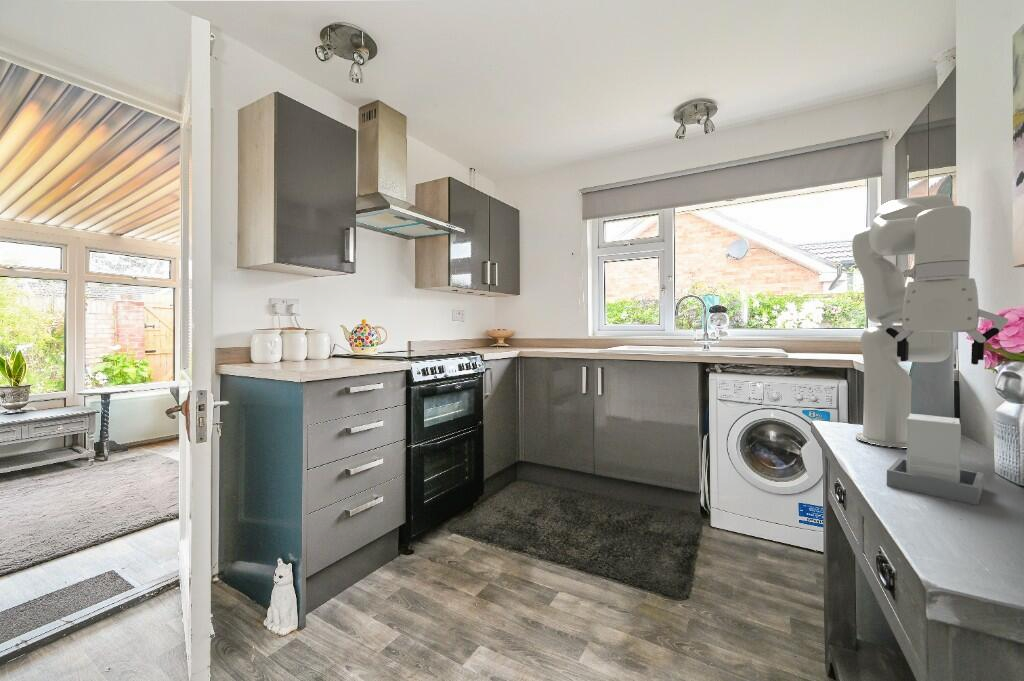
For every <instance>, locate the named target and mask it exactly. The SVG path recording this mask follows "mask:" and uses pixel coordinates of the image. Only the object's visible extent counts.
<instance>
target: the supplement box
mask: <svg viewBox="0 0 1024 681" xmlns="http://www.w3.org/2000/svg"><path fill="white" fill-rule="evenodd" d="M906 420H907V449H906V460H907V473H910V474H915V475H920V476H925V477H930V478H935V479H940V480H945V481H950V482H956V483H960V469H961V453H962V452H961V448H962V447H961V443H962V424H961V421H960V417H959V418H958V417H949V416H939V415H928V414H919V413H918V414H917V413H911V414H910V415H909V416H908V418H907V419H906Z"/></svg>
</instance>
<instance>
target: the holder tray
mask: <svg viewBox="0 0 1024 681" xmlns="http://www.w3.org/2000/svg"><path fill="white" fill-rule="evenodd" d="M886 486H888V487H892V488H893V487H894V488H898V489H902V490H906V491H911V492H912V491H913V492H916V493H920V494H925V495H930V496H935V497H938V498H939V497H940V498H944V499H948V500H952V501H957V502H962V503H966V504H969V505H970V504H971V505H977V506H979V504H980V500H981V497H982V494H983V491H984V490H983V489H984V472H978V471H973V470H967V469H962V468H960V483H956V482H950V481H945V480H940V479H935V478H930V477H925V476H920V475H915V474H910V473H907V458H906V459H905V458H901V457H900V458H899V457H898V459H897V460H895V461H894V463H893V464H892V465H890V466H889V467H888V469H886Z"/></svg>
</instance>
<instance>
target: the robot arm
mask: <svg viewBox="0 0 1024 681" xmlns="http://www.w3.org/2000/svg"><path fill="white" fill-rule="evenodd" d="M873 219H874V220H873V222H872V223H871V225H870V227H866V228H862V229H860V230H858V232H856V233H855V235H854V236H853V239H852V242H851V244H852V245H851V246H852V247H851V249H852V256H853V260H854V262H855V265H856V267H857V269H858V271H859V273H860V275H861V277H862V280H863V294H864V309H865V313H866V316H867V318H868V320H869V321H871V322H873V323H878V324H880V325H875V326H871V327H869V328H867V329H865V330H864V331H863V332H862V334H861V337H860V346H861V353H862V359H863V369H864V370H863V374H864V375H863V378H864V379H863V410H862V411H863V413H862V414H863V418H862V419H863V420H862V422H863V423H862V432H858V433H856V434H855V439H856V438H858V439H860V440H862V441H866V442H870V443H875V444H879V445H885V446H891V447H907V420H906V419H907V418H908V416H909V415H910V414H912V410H911V408H912V378H911V376H910V375H909V373H908V372H907V371H906V370H905V369H904V368H903V367H902V366H901V365H900V364H899V363H901V362H902V363H905V362H906V363H907V362H908V363H913V362H914V363H940V362H944V361H946V360H947V359H948V358H949V357H950V355H951V352H952V337H951V336H952V335H951V333H967V335H968V336H970V337H971V338H972V339H973V342H972V343H971V356H970V357H971V358H970V359H971V360H970V361H971V365H974V366H975V365H979V361H984V359H985V343H986V342H987V341H989V340H990V339H992V338H994V337H995V336H996V335H998V334H999V333H1000V332H1001V331H1002V330H1003V329H1004V328H1005V327H1006V325H1007V324H1008V323H1009V321H1010V320H1009V318H1008V317H1005V316H1001V315H998V314H995V313H993V312H990V311H986V310H983V309H980V308H979V296H978V294H979V293H978V287H977V282H976V280H975V279H976V278H973V277H970V267H971V265H970V263H971V236H972V235H971V234H972V233H971V231H972V212H971V210H970V208H969V207H967V206H963V205H955V203H954V201H953V199H952V198H951V197H950V196H947V195H945V194H933V195H931V194H930V195H923V196H922V195H921V196H915V197H906V198H899V199H894V200H890V201H888V202H886V203H884V204H882V205H881V206H880V207H879V208H878V209H877V210H876V212H875V215H874V218H873ZM904 255H913V257H914V258H913V261H914V262H913V266H912V267H911V269H908V270H904V271H902V270H901V269H900V268H899V267H898V266H897V265H896V264H894V263H893V262H892V261H890V260H889V259H886V258H885V257H888V256H889V257H891V256H892V257H893V256H904ZM905 278H911V279H913V281H909V282H907V284H905V282H904V281H905ZM980 318H983V319H986V320H988V321H991V322H993V325H992V326H991V327H990V329H988V330H987V331H985V332H983V333H982V332H981V331H980V330H978V327H979V319H980ZM892 324H893V325H892ZM895 324H896V325H895ZM897 324H898V325H897ZM899 324H901V325H899Z"/></svg>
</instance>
